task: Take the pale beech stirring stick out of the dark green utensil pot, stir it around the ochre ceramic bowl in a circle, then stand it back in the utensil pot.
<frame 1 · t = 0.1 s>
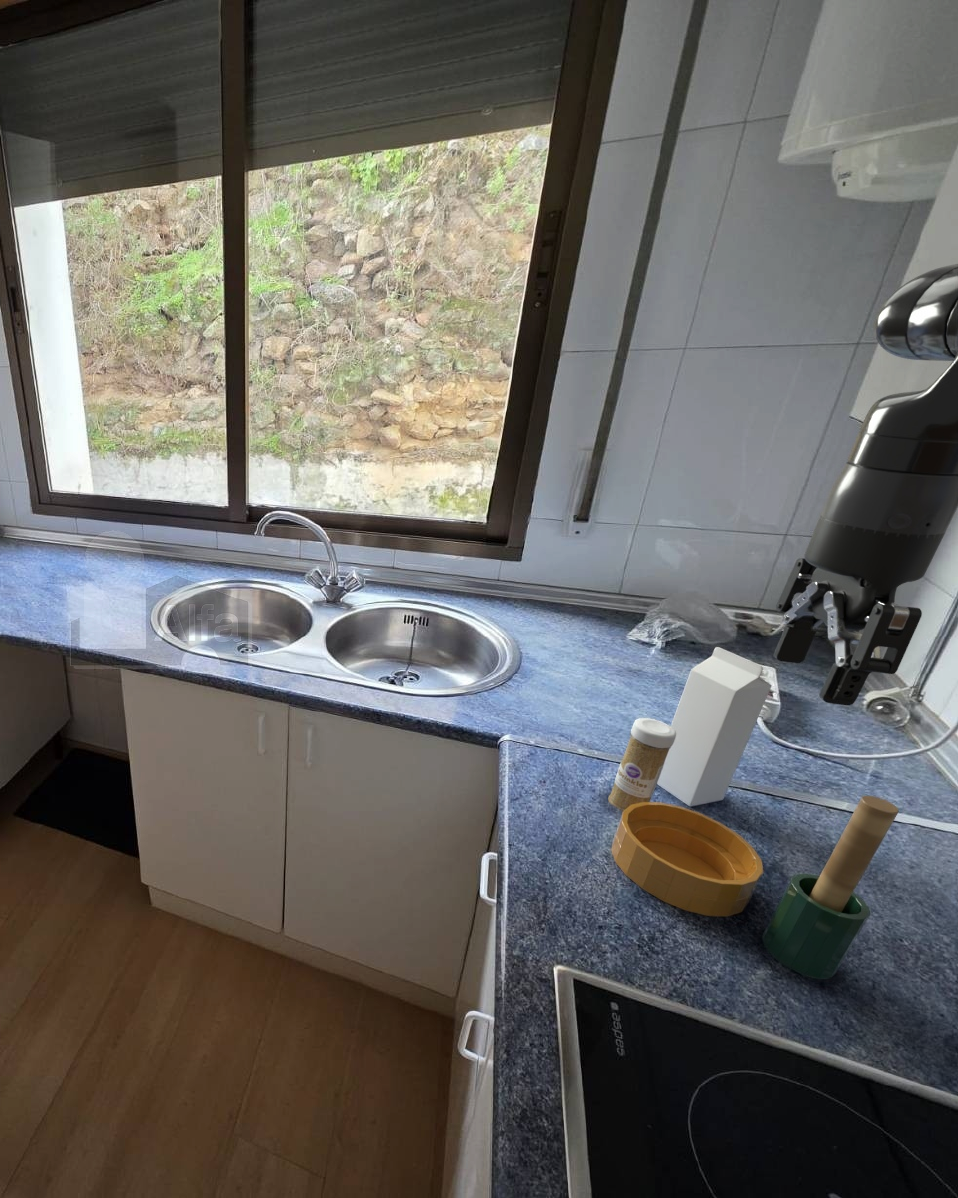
hand: (809, 680, 61), 30 cm above the worktop, tool pointing down, fingers open, 8 cm apart
utensil pot: (795, 957, 67), on the worktop
sprinkles bottle: (626, 807, 88), on the worktop
stick: (797, 953, 66), point 1 cm above the worktop, touching utensil pot
bowl: (674, 874, 77), on the worktop
milk: (685, 791, 91), on the worktop
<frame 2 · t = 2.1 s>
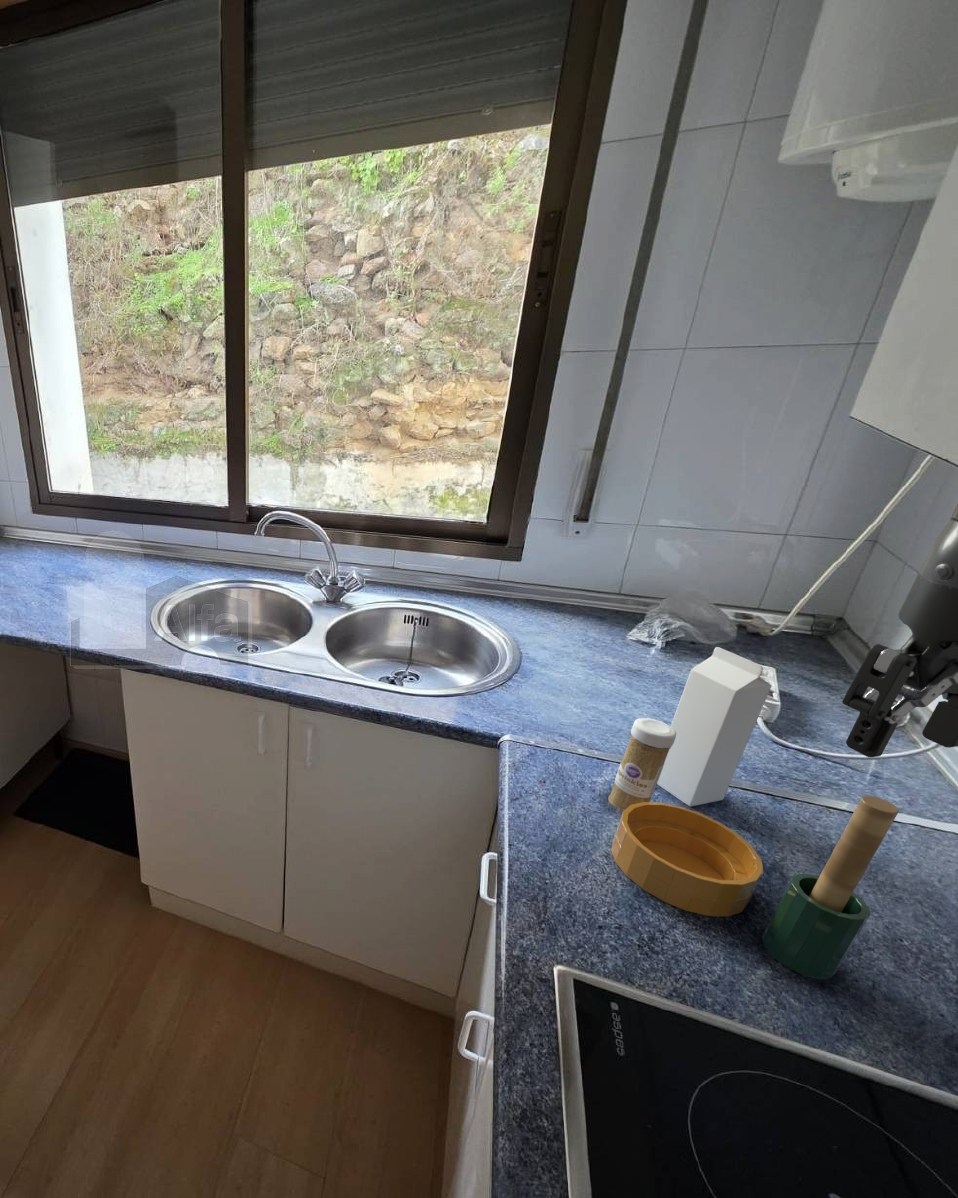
hand: (900, 746, 57), 27 cm above the worktop, tool pointing down, fingers open, 8 cm apart
nothing on the worktop moved.
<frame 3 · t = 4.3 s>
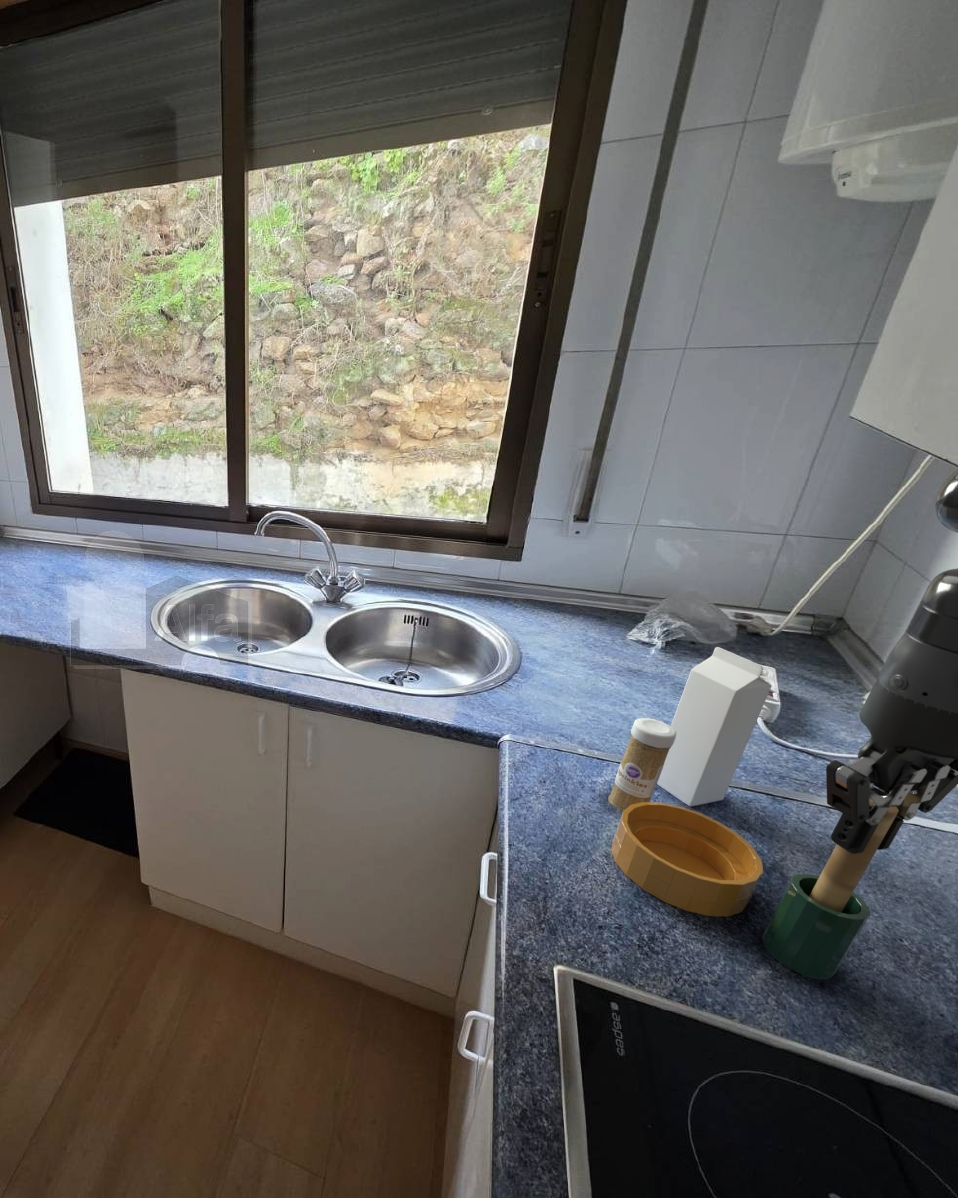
hand: (858, 844, 61), 16 cm above the worktop, tool pointing down, fingers closed on stick, 2 cm apart
stick: (797, 953, 66), point 1 cm above the worktop, touching gripper, utensil pot
everything else where it was.
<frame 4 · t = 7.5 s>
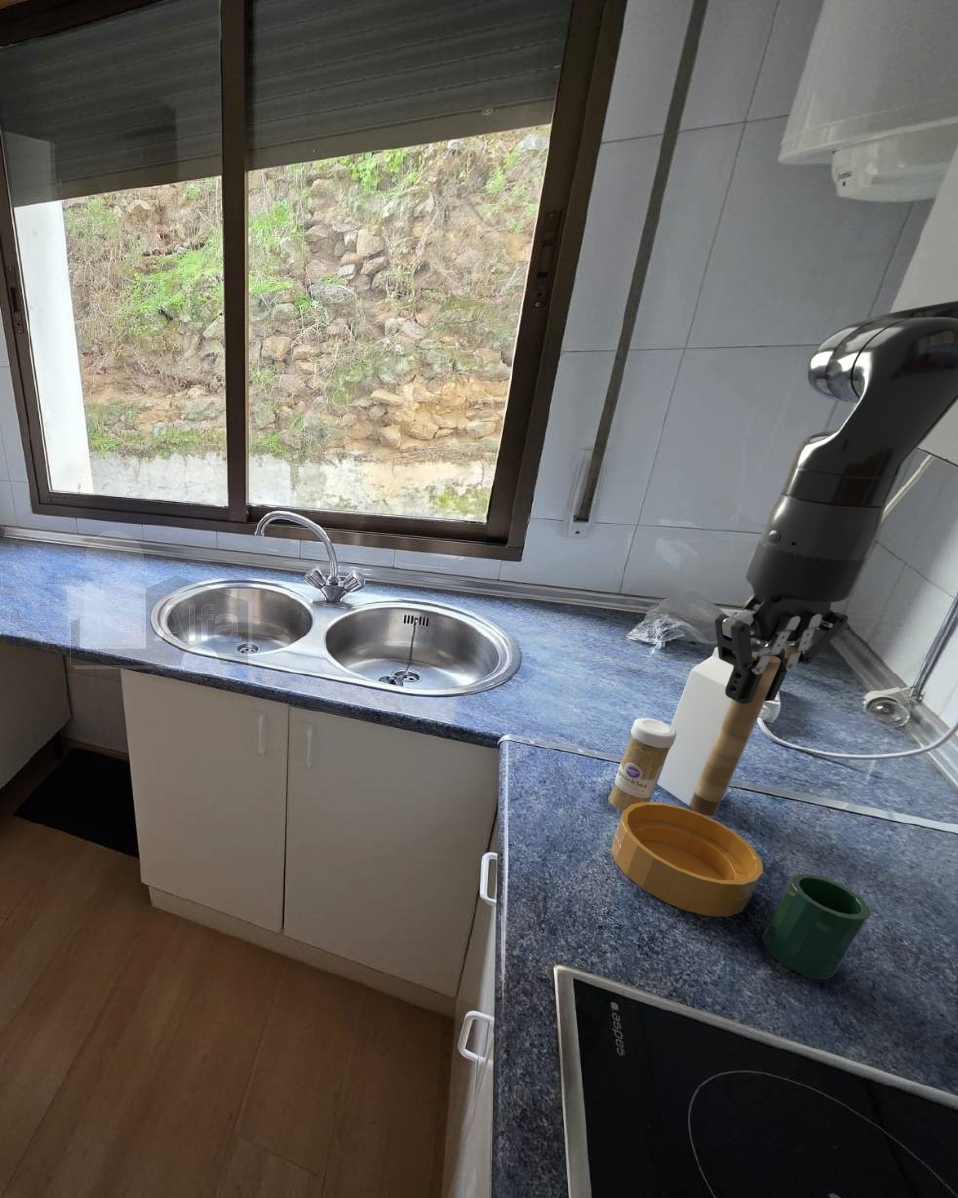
hand: (748, 697, 67), 25 cm above the worktop, tool pointing down, fingers closed on stick, 2 cm apart
stick: (702, 809, 73), point 10 cm above the worktop, touching gripper
everything else where it was.
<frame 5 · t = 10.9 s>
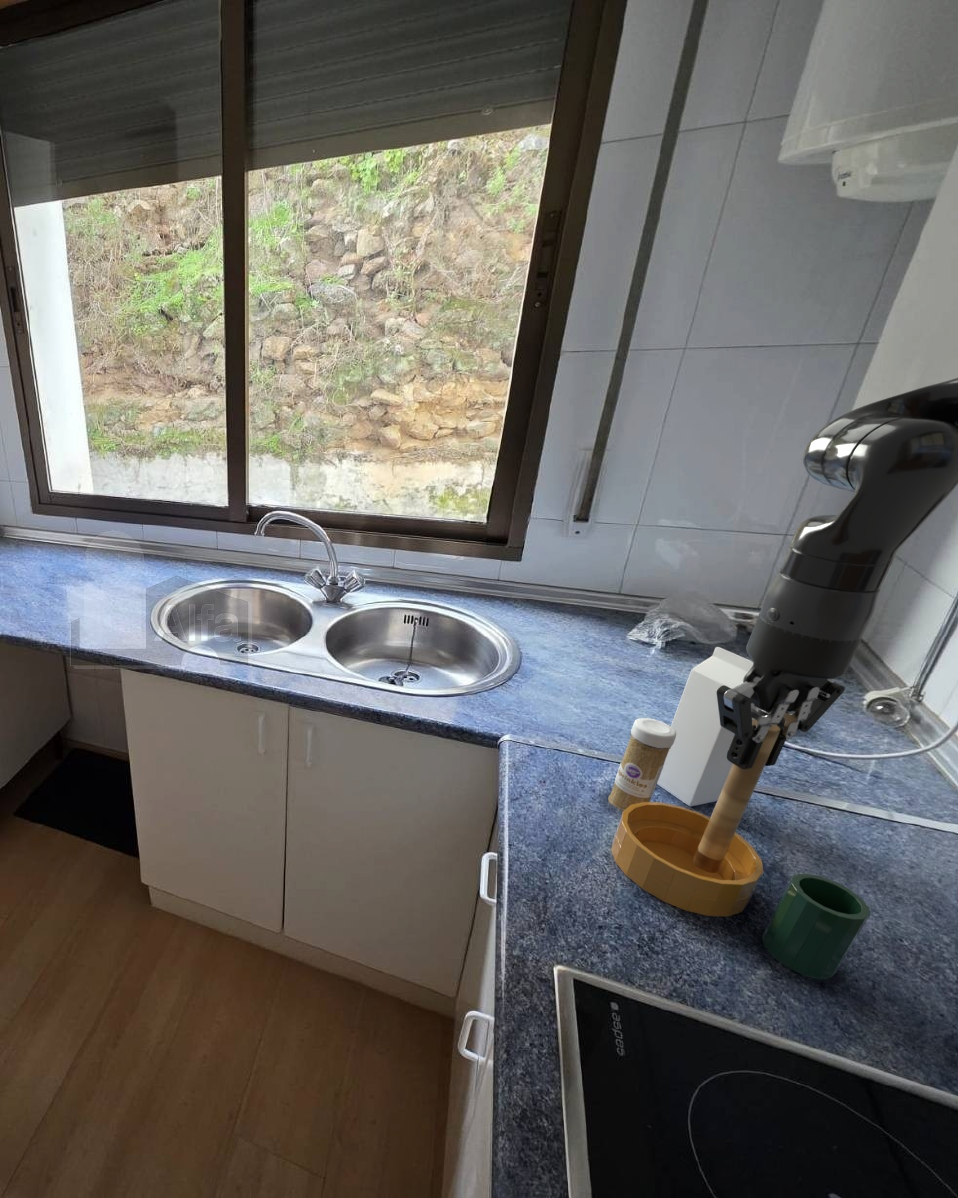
hand: (749, 762, 69), 17 cm above the worktop, tool pointing down, fingers closed on stick, 2 cm apart
stick: (705, 865, 75), point 2 cm above the worktop, touching gripper
everything else where it was.
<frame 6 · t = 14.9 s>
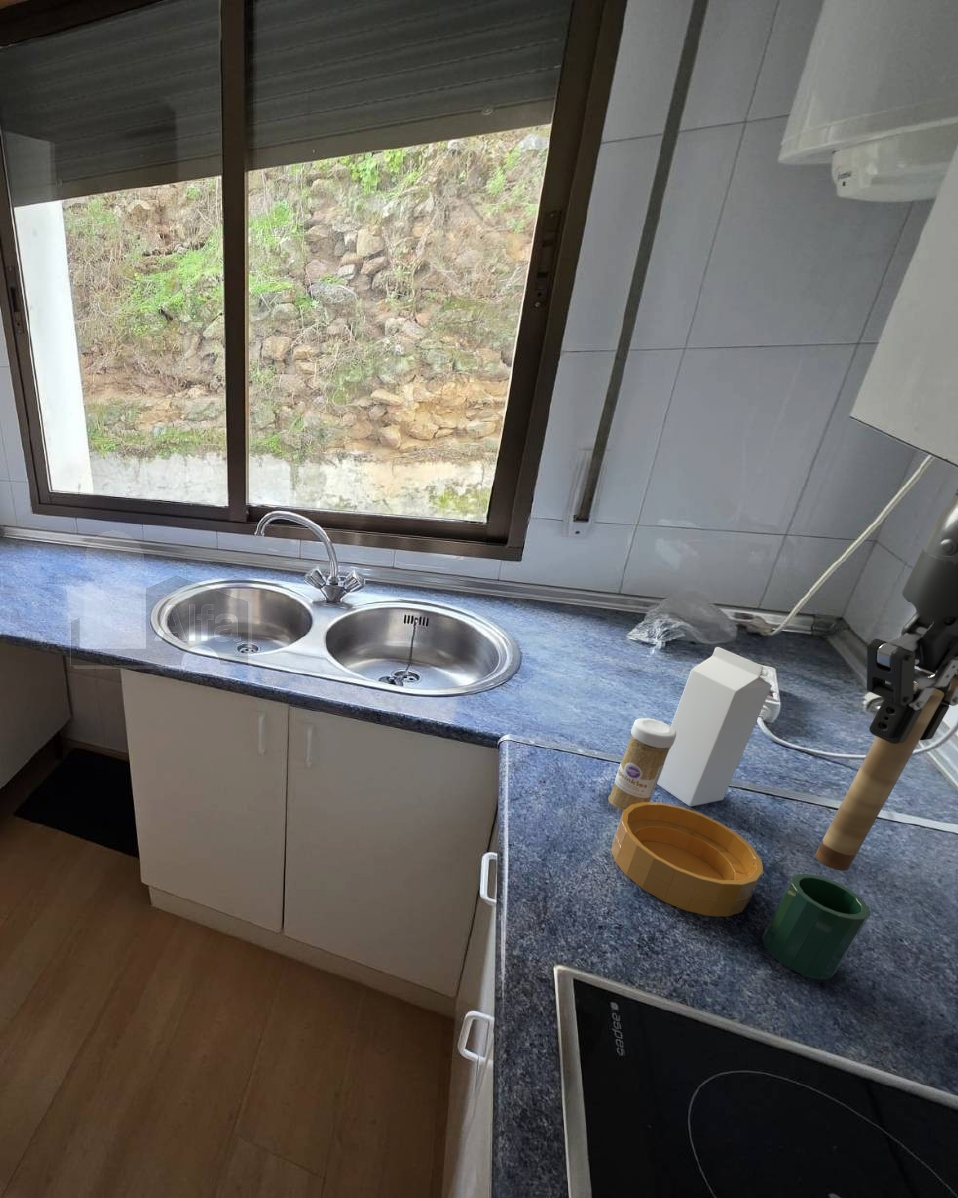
hand: (899, 735, 57), 28 cm above the worktop, tool pointing down, fingers closed on stick, 2 cm apart
stick: (831, 861, 63), point 12 cm above the worktop, touching gripper
everything else where it was.
when the fingers open (16 cm above the worktop, at t = 17.9 s): stick stays where it is, resting on utensil pot.
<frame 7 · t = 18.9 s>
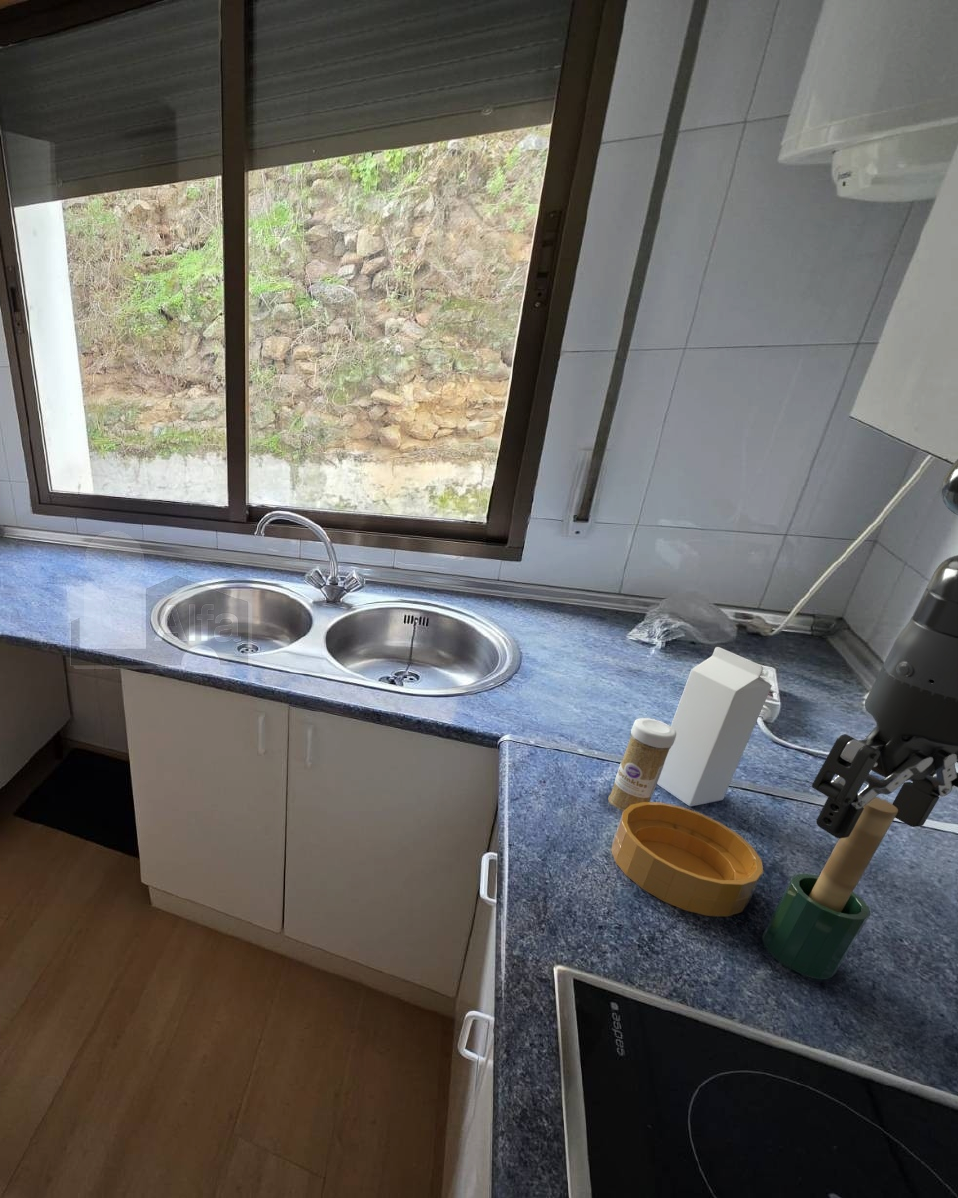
hand: (867, 826, 60), 18 cm above the worktop, tool pointing down, fingers open, 8 cm apart
stick: (797, 953, 66), point 1 cm above the worktop, touching utensil pot
everything else where it was.
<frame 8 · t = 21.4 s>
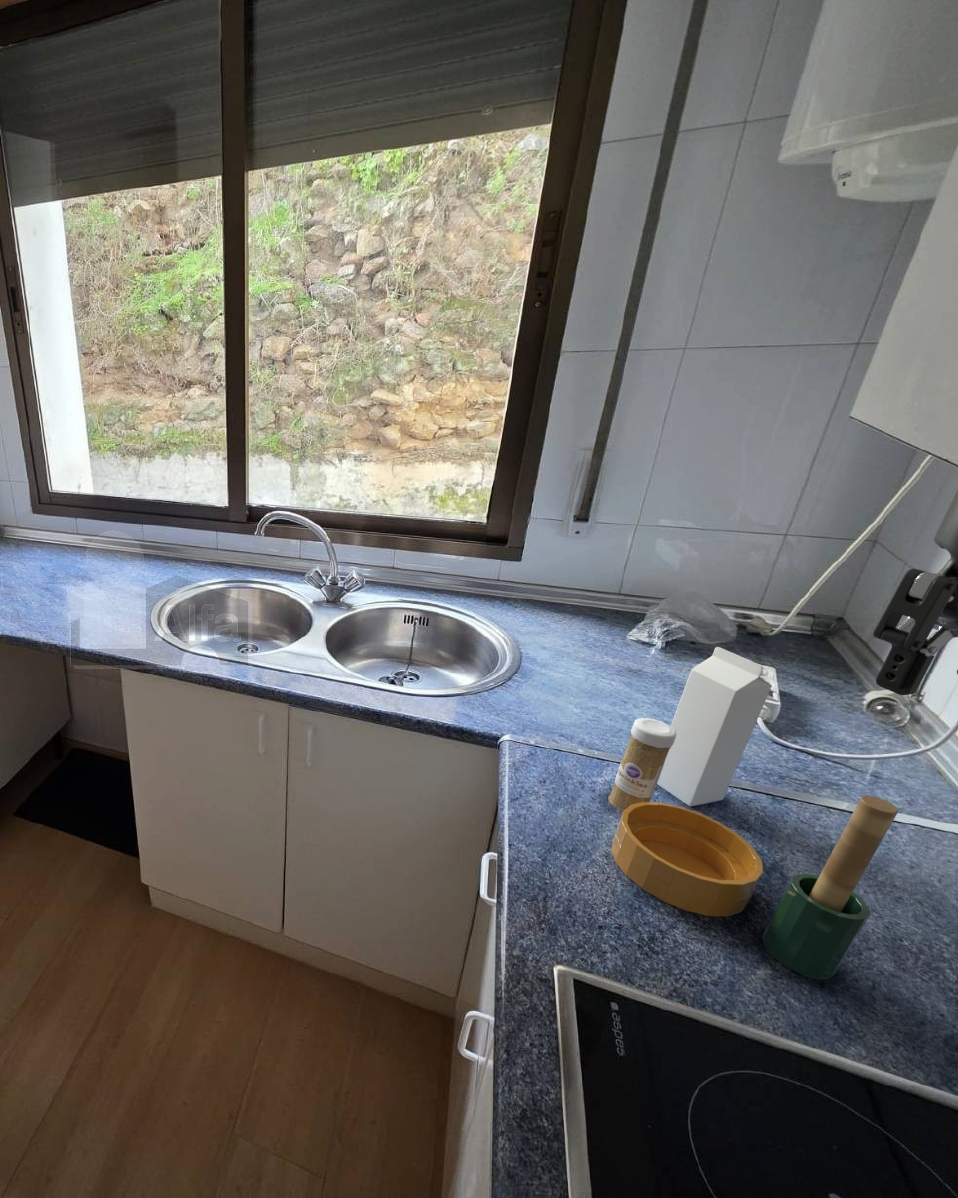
hand: (934, 685, 52), 34 cm above the worktop, tool pointing down, fingers open, 8 cm apart
nothing on the worktop moved.
at the end: stick 0.0 cm off-centre in the utensil pot, point 0.6 cm above the utensil pot's base; stick moved 0.0 cm from its start; the gripper is holding nothing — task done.
